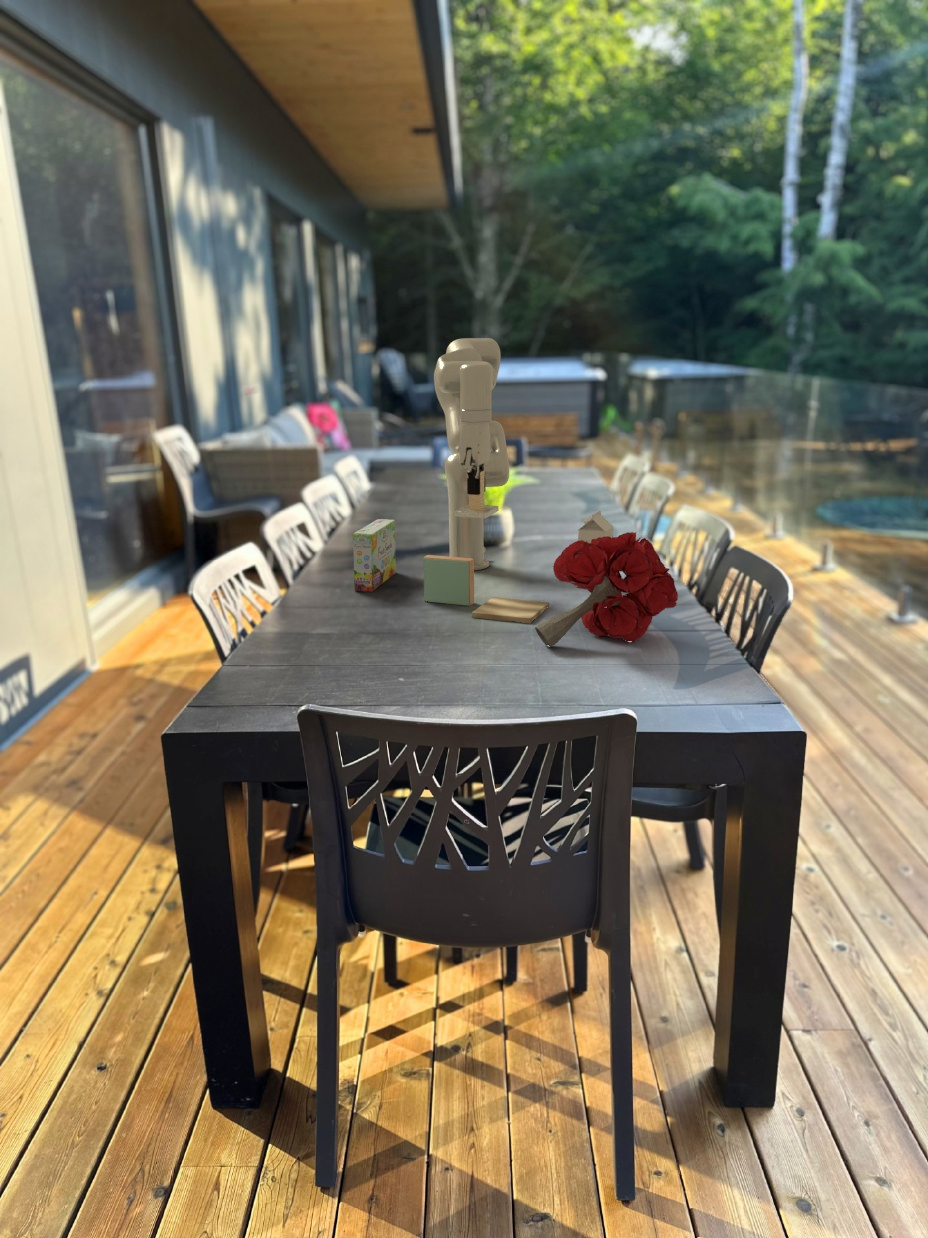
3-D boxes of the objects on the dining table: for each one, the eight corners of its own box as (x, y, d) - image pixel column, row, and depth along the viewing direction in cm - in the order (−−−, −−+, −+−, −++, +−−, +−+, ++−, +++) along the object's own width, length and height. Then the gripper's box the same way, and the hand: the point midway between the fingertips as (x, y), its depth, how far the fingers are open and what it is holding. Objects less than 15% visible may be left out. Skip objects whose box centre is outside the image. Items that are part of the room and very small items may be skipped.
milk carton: (611, 583, 234) (614, 510, 228) (603, 590, 227) (606, 515, 222) (585, 581, 237) (587, 509, 231) (576, 587, 230) (578, 513, 225)
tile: (428, 598, 222) (427, 554, 219) (474, 603, 218) (473, 558, 215) (423, 601, 220) (422, 557, 216) (469, 606, 215) (469, 561, 212)
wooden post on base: (468, 508, 230) (468, 467, 226) (498, 510, 227) (498, 468, 224) (454, 516, 221) (453, 473, 217) (485, 518, 218) (485, 474, 215)
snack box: (374, 592, 228) (372, 533, 224) (353, 591, 230) (350, 533, 225) (397, 572, 248) (395, 518, 244) (377, 572, 249) (375, 517, 245)
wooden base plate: (493, 601, 219) (493, 596, 218) (548, 607, 213) (549, 602, 213) (471, 617, 206) (471, 612, 206) (530, 623, 201) (530, 618, 201)
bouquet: (589, 695, 177) (710, 610, 181) (531, 598, 170) (658, 510, 173) (550, 667, 198) (659, 590, 201) (497, 579, 190) (611, 501, 193)
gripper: (473, 413, 225) (473, 486, 231) (448, 419, 211) (450, 498, 216) (501, 414, 223) (501, 488, 228) (479, 420, 208) (479, 499, 214)
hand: (476, 492), depth 222 cm, fingers closed on wooden post on base, 3 cm apart
